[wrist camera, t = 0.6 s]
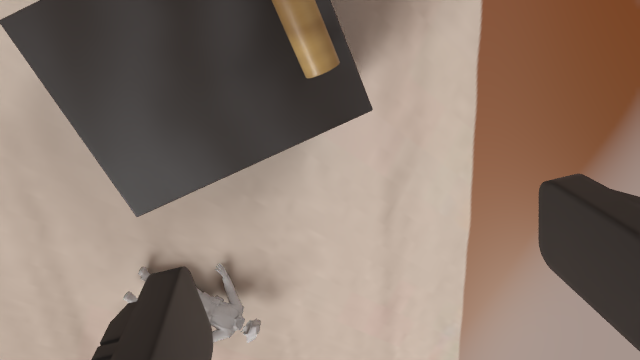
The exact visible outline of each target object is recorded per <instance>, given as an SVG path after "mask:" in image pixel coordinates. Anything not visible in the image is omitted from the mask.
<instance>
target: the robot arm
mask: <svg viewBox="0 0 640 360" xmlns="http://www.w3.org/2000/svg"><path fill="white" fill-rule="evenodd" d="M539 247H540V251H541V254H542V256H543V258H544V260H545V262H546V264H547V265H548V266H549V268H550V269H551V270H552V271H554V272H555V273H556V274H557V275H558V276H559V277H560V278H561V279H562V280H563V281H564V282H565V283H566V284H567V285H569V286H570V287H571V288H572V289H573V290H574V291H575V292H576V293H577V294H578V295H579V296H580V297H582V298H583V299H584V300H585V301H586V302H587V303H588V304H589V305H590V306H591V307H592V308H594V310H596V311H597V312H598V313H599V314H600V315H601V316H602V317H603V318H604V319H605V320H606V321H607V322H609V323H610V324H611V325H612V326H613V327H614V328H615V329H616V330H617V331H618V332H619V333H620V334H621V335H623V336H624V337H625V338H626V339H627V340H628V341H629V342H630V343H631V344H632V345H633V346H634V347H636V348H637V349H638V350H639V351H640V197H638V196H634V195H630V194H627V193H623V192H619V191H615V190H612V189H609V188H607V187H606V186H604V185H602V184H600V183H598V182H596V181H594V180H592V179H590V178H589V177H587V176H585V175H582V174H574V175H570V176H566V177H562V178H557V179H554V180H549V181H545V182H543V183H542V184H541V186H540V189H539ZM100 344H101V346H99V347H98V348H97V350H96V352H95V354H94V356H93V358H92V360H211V358H212V352H213V335H212V329H211V324H210V321H209V318H208V316H207V313H206V311H205V308H204V306H203V303H202V301H201V298H200V296H199V293H198V290H197V288H196V285H195V283H194V280H193V278H192V275H191V273H190V271H189V270H188V269H187V268H186V267H179V268H175V269H171V270H167V271H163V272H158V273H154V274H151V275H149V276H148V278H147V280H146V282H145V284H144V286H143V288H142V291H141V293H140V295H139V297H138V300H137V301H136V302H132V303H128V304H127V305H126V306H125V307H124V309H123V310H122V311H121V312H120V313H119V314H118V315H117V316H116V317H115V318H114V319H113V320H112V321H111V322H110V324H109V326H108V328H107V330H106V332H105V334H104V336H103V338H102V340H101V342H100Z"/></svg>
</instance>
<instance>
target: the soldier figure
mask: <svg viewBox="0 0 640 360" xmlns="http://www.w3.org/2000/svg"><path fill="white" fill-rule="evenodd" d="M218 264H219V265H218ZM218 264H217V266H219V267H217V266H216V268H218V269H219V270H220V271H219V270H217V269H215V270H216V271H218V272H219V273H220V274H221V275H222V276H223V277H222V280H223V283H224V288H225V291H226V294H227V296H228V300H229V302H230V304H229V303H226V302H223V301H224V299H222V298H220V297H219V296H215V297H214V296H209V294H207V293H206V292H203V293H202V292H201V291H200V290H199V289H198V288H197V290H198V293H199V296H200V298H201V301H202V303H203V306H204V308H205V311H206V313H207V316H208V318H209V321H210V324H211V325H212V326H214V327H215V328H216V329H218V330H216V331H213V332H212V335H213V342H216V341H218V340H222V339H226V338H230V337H231V336H232V334H234V332H235V331H236V330H240V329H241V328H242V326H243V323H244V321H245V319H244V318H243V316H242V313H243V309H244V307H243V306H242V303H241V302H240V300H239V298H238V295H237V294H236V291H235V287H234V285H233V283H232V281H231V279H230V277H229V275H228V274H227V272H226V270H225V268H224V267H223V266H222V265H221V264H220V263H218ZM138 274H139V275H140V276H141V280H144V281H146V280H147V278H148V276H149V275H150V273H149V272H148V271H147V269H146V267H144V266H143V267H142V268H141V269H140V270H139V273H138ZM123 300H125V301H127V302H128V303H132V302H136V301H137V300H138V298H136V296H134V295H133V294H132V293H131V292H127V293H126V294H125V296H124V298H123ZM259 324H261V321H260V320H257V319H255V320H253V321H251V320H250V321H249V322H248V323H247V325H246V326H244V327H243V330H242V331H244V333H243V334H244V335H246V338H247V343H248V342H251V341H253V340H254V339H255V338H256V336H257V334H258V332H259V330H260V325H259ZM242 331H241V332H242Z"/></svg>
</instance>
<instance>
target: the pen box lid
mask: <svg viewBox="0 0 640 360" xmlns="http://www.w3.org/2000/svg"><path fill="white" fill-rule="evenodd" d="M0 24H1V25H2V27H3V28H4V30H5V31H6V32H7V34H8V35H9V37H10V38H11V39H12V41H13V42H14V44H15V45H16V47H17V48H18V49H19V51H20V52H21V54H22V55H23V56H24V58H25V59H26V61H27V62H28V64H29V65H30V66H31V68H32V69H33V71H34V72H35V74H36V75H37V76H38V78H39V79H40V81H41V82H42V83H43V85H44V86H45V88H46V89H47V91H48V92H49V93H50V95H51V96H52V98H53V99H54V100H55V102H56V103H57V105H58V106H59V108H60V109H61V110H62V112H63V113H64V115H65V116H66V117H67V119H68V120H69V122H70V123H71V125H72V126H73V127H74V129H75V130H76V132H77V133H78V135H79V136H80V137H81V139H82V140H83V142H84V143H85V144H86V146H87V147H88V149H89V150H90V152H91V153H92V154H93V156H94V157H95V159H96V160H97V161H98V163H99V164H100V166H101V167H102V169H103V170H104V171H105V173H106V174H107V176H108V177H109V178H110V180H111V181H112V183H113V184H114V186H115V187H116V188H117V190H118V191H119V193H120V194H121V196H122V197H123V198H124V200H125V201H126V203H127V204H128V205H129V207H130V208H131V210H132V211H133V213H134V214H135V215H136V217H139V216H141V215H143V214H145V213H148V212H150V211H152V210H154V209H156V208H159V207H161V206H163V205H165V204H167V203H170V202H172V201H174V200H176V199H178V198H181V197H183V196H185V195H187V194H189V193H192V192H194V191H196V190H198V189H200V188H203V187H205V186H207V185H209V184H211V183H214V182H216V181H218V180H220V179H222V178H225V177H227V176H229V175H231V174H233V173H236V172H238V171H240V170H242V169H244V168H247V167H249V166H251V165H253V164H255V163H258V162H260V161H262V160H264V159H266V158H269V157H271V156H273V155H275V154H277V153H280V152H282V151H284V150H286V149H288V148H291V147H293V146H295V145H297V144H299V143H302V142H304V141H306V140H308V139H310V138H313V137H315V136H317V135H319V134H321V133H324V132H326V131H328V130H330V129H332V128H335V127H337V126H339V125H341V124H343V123H346V122H348V121H350V120H352V119H354V118H357V117H359V116H361V115H363V114H365V113H368V112H370V111H372V106H371V104H370V101H369V99H368V96H367V93H366V91H365V88H364V86H363V83H362V81H361V78H360V75H359V73H358V70H357V68H356V65H355V63H354V60H353V57H352V55H351V52H350V50H349V47H348V45H347V42H346V39H345V37H344V34H343V32H342V29H341V26H340V24H339V21H338V19H337V16H336V14H335V11H334V8H333V6H332V3H331V1H330V0H40V1H38V2H36V3H33V4H31V5H29V6H27V7H25V8H23V9H21V10H19V11H17V12H15V13H13V14H11V15H9V16H7V17H5V18H3V19H1V20H0Z"/></svg>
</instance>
